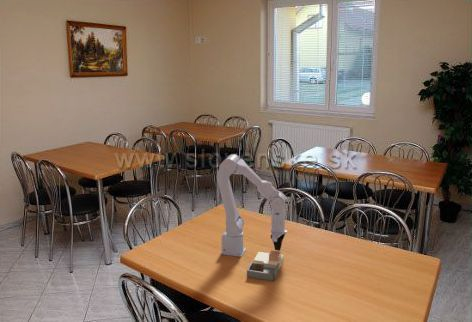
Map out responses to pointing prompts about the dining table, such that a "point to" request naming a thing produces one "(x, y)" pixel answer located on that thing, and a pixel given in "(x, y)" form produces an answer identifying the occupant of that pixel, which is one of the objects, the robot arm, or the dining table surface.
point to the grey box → (263, 273)
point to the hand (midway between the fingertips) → (277, 249)
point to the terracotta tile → (274, 255)
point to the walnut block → (258, 266)
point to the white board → (268, 263)
